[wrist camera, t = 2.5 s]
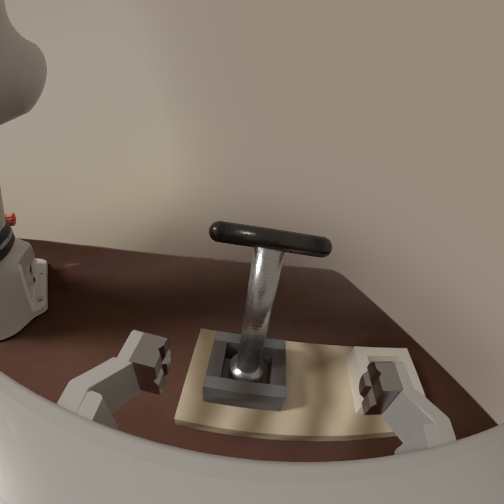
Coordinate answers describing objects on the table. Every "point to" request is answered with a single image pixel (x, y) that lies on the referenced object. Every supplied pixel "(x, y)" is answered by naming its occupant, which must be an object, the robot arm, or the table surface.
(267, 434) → the tool board
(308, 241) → the chuck key
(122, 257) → the table surface
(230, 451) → the table surface
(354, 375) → the frame
